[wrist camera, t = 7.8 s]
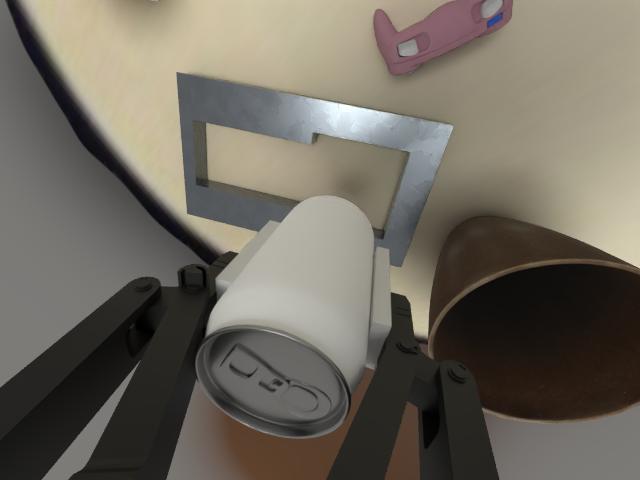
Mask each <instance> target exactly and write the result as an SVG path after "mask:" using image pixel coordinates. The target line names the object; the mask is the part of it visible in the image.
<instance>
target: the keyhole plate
mask: <svg viewBox="0 0 640 480" xmlns="http://www.w3.org/2000/svg"><path fill="white" fill-rule="evenodd" d="M176 73H177V86H178V99H179V112H180V125H181V138H182V151H183V165H184V178H185V191H186V204H187V214H190V215H194V216H198V217H202V218H206V219H210V220H214V221H218V222H222V223H226V224H230V225H234V226H238V227H242V228H246V229H250V230H254V231H258V232H259V231H260V230H261V229H262V228H263V227H264V226H265V225H266V224H267V223H268V222H269V221H270V220H271V221H275V222H279V223H281V222H282V221H283V220H284V219H285V218H286V216H287V215H288V214H289V213H290V212H291V211H292V210H293V208H294V207H296V206H297V205H298V204H299V203H301V202H300V201H295V200H291V199H287V198H283V197H278V196H274V195H270V194H266V193H261V192H257V191H253V190H249V189H244V188H240V187H236V186H232V185H227V184H223V183H219V182H215V181H210V180H207V151H206V123H205V122H207V123H211V124H216V125H221V126H226V127H230V128H235V129H240V130H244V131H249V132H254V133H259V134H263V135H268V136H273V137H278V138H282V139H287V140H292V141H296V142H301V143H306V144H313V143H314V142H316V140H317V133H320V134H325V135H330V136H335V137H339V138H344V139H349V140H354V141H359V142H364V143H369V144H373V145H378V146H383V147H388V148H393V149H398V150H402V151H407V152H408V153H407V156H406V159H405V162H404V166H403V169H402V172H401V175H400V178H399V182H398V185H397V188H396V191H395V195H394V198H393V201H392V204H391V208H390V211H389V214H388V217H387V220H386V224H385V227H384V230H383V231H382V230H378V229H373V228H372V230H373V235H374V254H375V251H376V248H377V246H378V247H382V248H386V249H389V260H390V265H393V266H397V267H401V266H402V264H403V261H404V258H405V256H406V253H407V250H408V248H409V245H410V242H411V240H412V237H413V234H414V231H415V229H416V226H417V223H418V221H419V218H420V215H421V213H422V210H423V207H424V205H425V202H426V199H427V197H428V194H429V191H430V188H431V186H432V183H433V180H434V178H435V175H436V172H437V170H438V167H439V164H440V162H441V159H442V156H443V154H444V151H445V148H446V145H447V143H448V140H449V137H450V135H451V132H452V129H453V127H454V126H453V125H450V124H448V123H442V122H437V121H432V120H427V119H422V118H416V117H411V116H406V115H401V114H396V113H391V112H385V111H380V110H375V109H370V108H365V107H359V106H354V105H349V104H344V103H339V102H334V101H328V100H323V99H318V98H313V97H308V96H302V95H297V94H292V93H287V92H282V91H276V90H271V89H266V88H261V87H256V86H251V85H245V84H240V83H235V82H230V81H225V80H219V79H214V78H209V77H204V76H199V75H193V74H187V73H179V72H176ZM374 254H373V258H374Z"/></svg>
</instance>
